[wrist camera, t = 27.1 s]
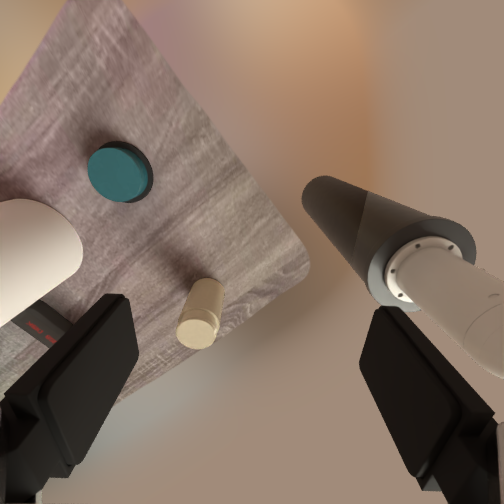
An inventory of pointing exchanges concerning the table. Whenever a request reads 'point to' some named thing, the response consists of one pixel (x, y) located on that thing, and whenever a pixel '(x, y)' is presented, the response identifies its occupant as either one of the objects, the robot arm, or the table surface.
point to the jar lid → (117, 174)
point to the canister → (33, 254)
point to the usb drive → (42, 323)
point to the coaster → (143, 159)
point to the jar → (201, 314)
